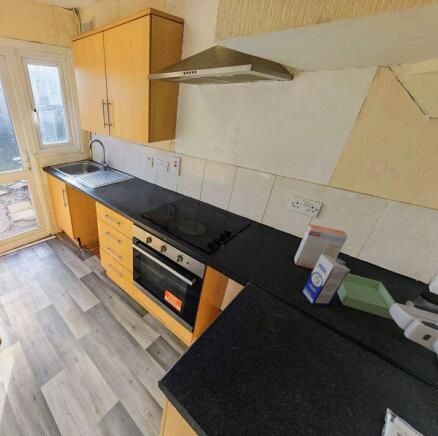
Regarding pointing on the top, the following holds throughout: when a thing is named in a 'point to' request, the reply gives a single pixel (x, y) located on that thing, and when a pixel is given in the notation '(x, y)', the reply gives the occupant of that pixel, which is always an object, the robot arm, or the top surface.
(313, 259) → the cracker box
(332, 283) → the milk carton
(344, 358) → the top surface
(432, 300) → the food flask
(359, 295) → the square green tray
